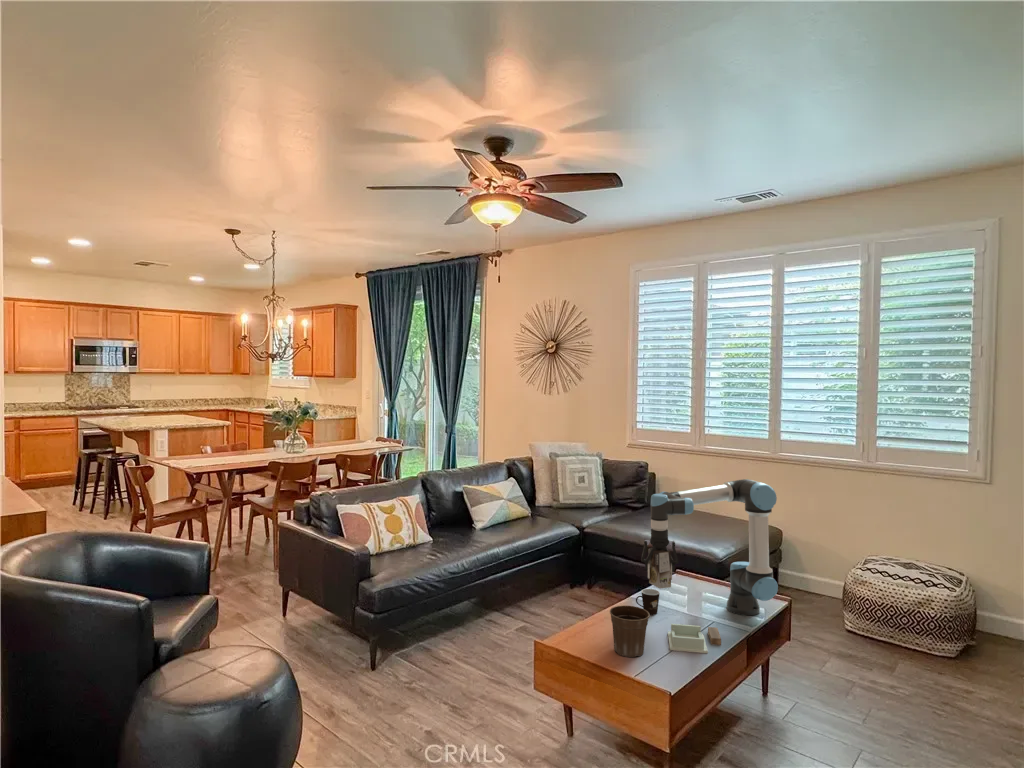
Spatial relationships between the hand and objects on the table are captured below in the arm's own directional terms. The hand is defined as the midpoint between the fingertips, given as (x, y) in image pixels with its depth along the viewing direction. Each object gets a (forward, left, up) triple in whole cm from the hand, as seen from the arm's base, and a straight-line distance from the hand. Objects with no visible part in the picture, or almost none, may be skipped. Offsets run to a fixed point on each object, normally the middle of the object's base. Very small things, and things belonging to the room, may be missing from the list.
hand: (659, 578), depth 275 cm
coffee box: (0, 0, -3) cm, 3 cm away
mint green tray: (-11, +14, -23) cm, 29 cm away
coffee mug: (+5, -18, -23) cm, 29 cm away
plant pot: (+13, +27, -23) cm, 38 cm away
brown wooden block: (-23, +7, -23) cm, 33 cm away
